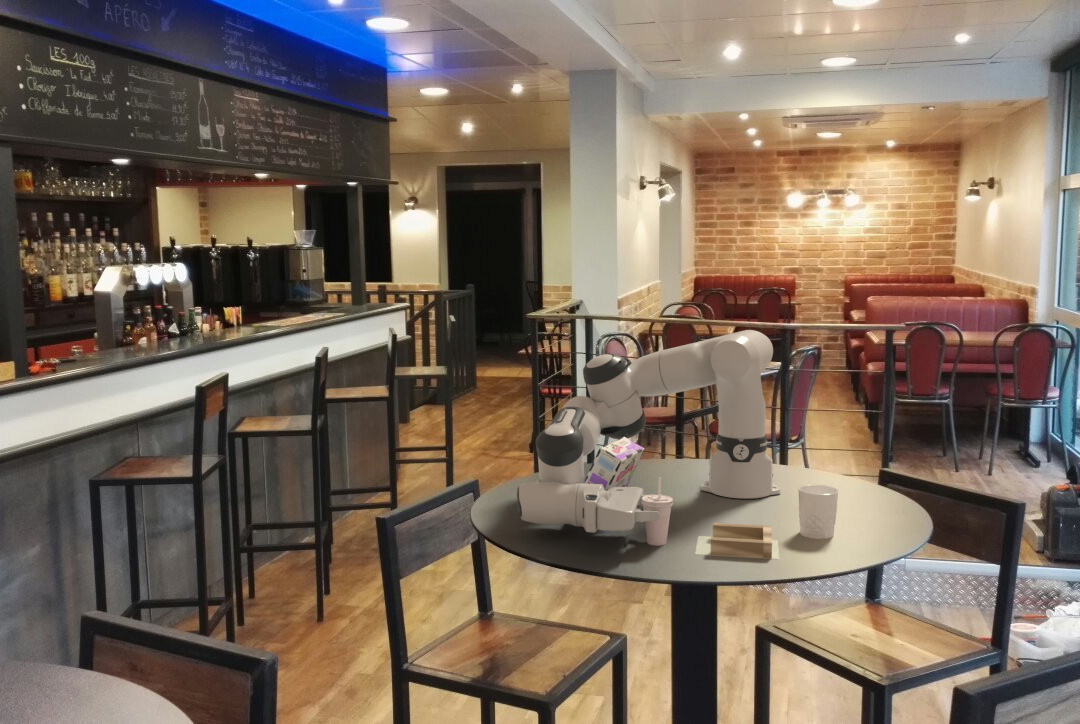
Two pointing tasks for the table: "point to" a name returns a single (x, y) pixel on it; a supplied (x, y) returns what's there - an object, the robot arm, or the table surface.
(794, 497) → the table surface
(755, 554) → the rack
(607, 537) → the table surface
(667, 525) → the smoothie
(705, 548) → the mat
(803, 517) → the white cup
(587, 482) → the candy box
